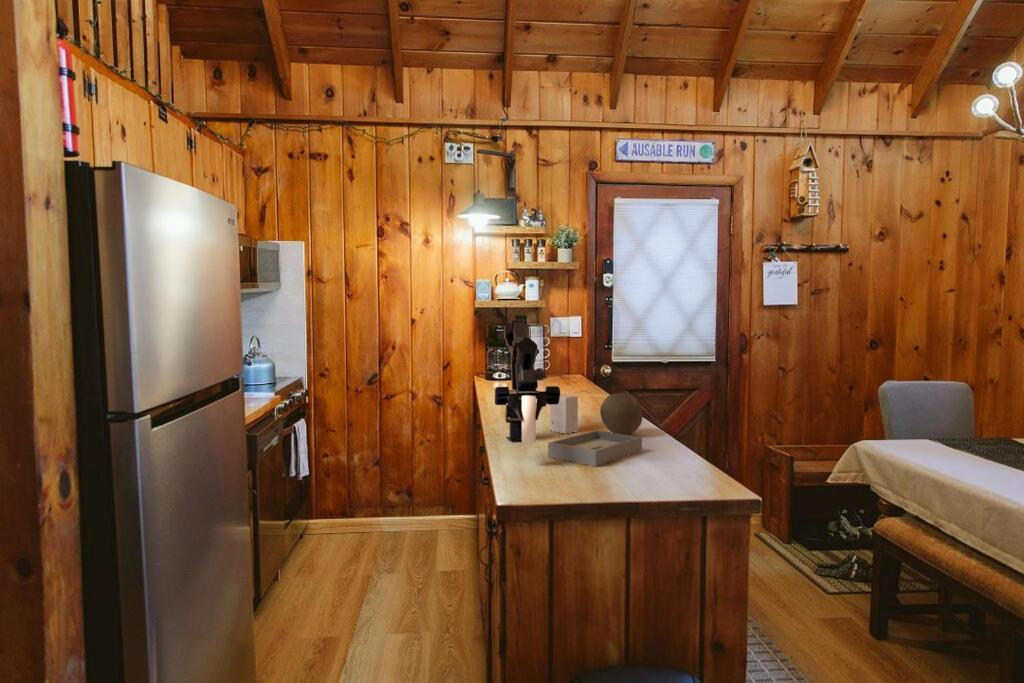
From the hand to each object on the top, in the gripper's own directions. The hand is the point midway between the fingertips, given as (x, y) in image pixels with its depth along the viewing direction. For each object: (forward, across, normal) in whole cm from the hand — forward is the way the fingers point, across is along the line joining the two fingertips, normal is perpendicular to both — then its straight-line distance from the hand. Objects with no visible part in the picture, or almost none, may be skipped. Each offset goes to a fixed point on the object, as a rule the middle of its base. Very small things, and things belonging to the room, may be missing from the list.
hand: (529, 419), depth 184 cm
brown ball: (-18, +36, +37) cm, 55 cm away
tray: (0, +22, +18) cm, 28 cm away
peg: (+4, 0, +6) cm, 7 cm away
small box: (-24, +17, +44) cm, 53 cm away
